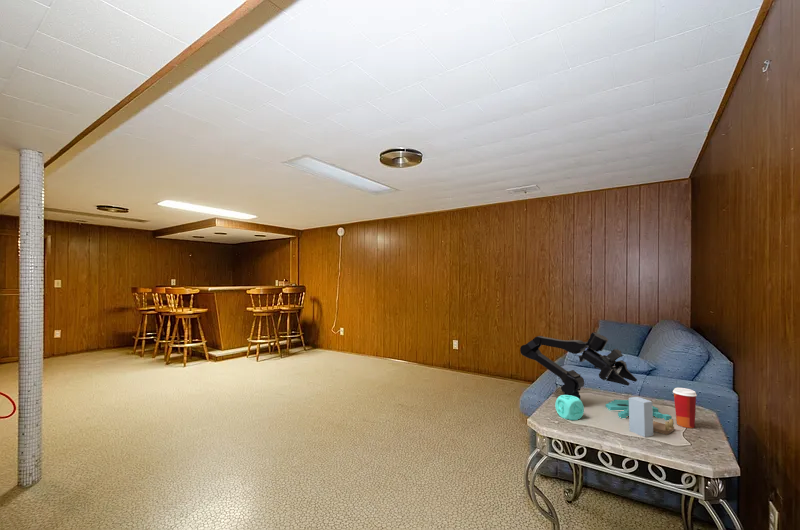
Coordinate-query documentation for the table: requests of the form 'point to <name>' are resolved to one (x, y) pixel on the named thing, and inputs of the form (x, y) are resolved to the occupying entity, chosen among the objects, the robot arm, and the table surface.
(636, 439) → the table surface
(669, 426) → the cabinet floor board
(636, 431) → the pale blue upright block
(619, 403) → the alien figure
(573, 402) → the decorative dice
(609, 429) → the table surface
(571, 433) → the table surface
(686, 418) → the paper cup
